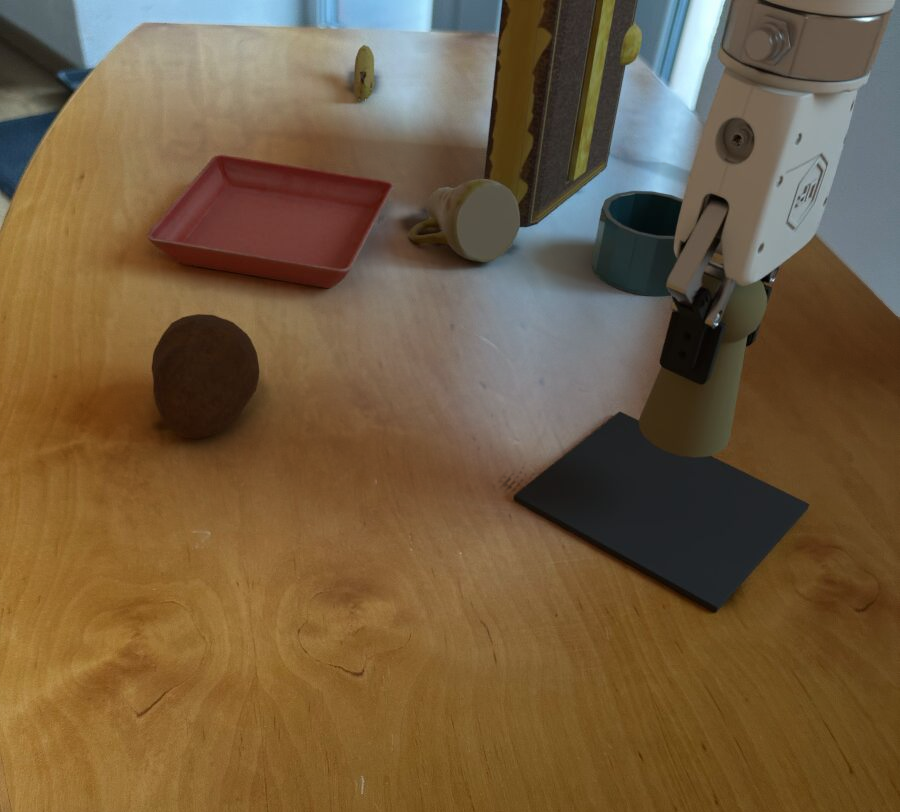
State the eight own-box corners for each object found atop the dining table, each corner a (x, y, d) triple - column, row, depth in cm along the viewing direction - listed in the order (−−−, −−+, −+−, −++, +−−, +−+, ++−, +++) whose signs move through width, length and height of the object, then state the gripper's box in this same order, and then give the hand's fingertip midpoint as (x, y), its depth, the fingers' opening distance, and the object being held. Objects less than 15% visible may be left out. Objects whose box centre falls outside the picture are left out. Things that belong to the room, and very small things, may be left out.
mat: (807, 509, 73) (810, 503, 72) (715, 613, 65) (717, 607, 64) (618, 416, 79) (619, 410, 79) (512, 500, 71) (513, 494, 71)
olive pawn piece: (709, 469, 64) (760, 313, 57) (623, 433, 66) (661, 277, 59) (743, 424, 68) (795, 272, 60) (660, 392, 70) (700, 240, 62)
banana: (355, 77, 126) (355, 42, 123) (375, 79, 126) (375, 44, 123) (351, 108, 119) (351, 71, 116) (372, 109, 119) (373, 73, 116)
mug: (461, 214, 102) (513, 142, 94) (487, 297, 99) (541, 231, 91) (396, 205, 98) (443, 129, 90) (420, 291, 95) (471, 221, 87)
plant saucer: (348, 304, 88) (349, 268, 85) (147, 271, 89) (142, 235, 87) (394, 214, 100) (396, 181, 98) (218, 186, 102) (215, 153, 99)
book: (539, 233, 100) (582, -63, 82) (463, 208, 102) (490, -84, 85) (625, 162, 114) (679, -104, 96) (557, 142, 116) (597, -121, 99)
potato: (144, 454, 71) (127, 356, 66) (170, 376, 78) (157, 281, 73) (250, 460, 72) (243, 363, 66) (267, 382, 79) (261, 288, 73)
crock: (711, 271, 97) (726, 215, 93) (660, 307, 92) (675, 249, 88) (625, 236, 101) (637, 181, 97) (572, 269, 95) (582, 212, 91)
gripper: (797, 98, 44) (693, 440, 57) (934, 22, 54) (819, 327, 67) (648, 51, 47) (581, 386, 60) (803, -14, 57) (717, 285, 70)
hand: (707, 352), depth 63 cm, fingers closed on olive pawn piece, 5 cm apart
